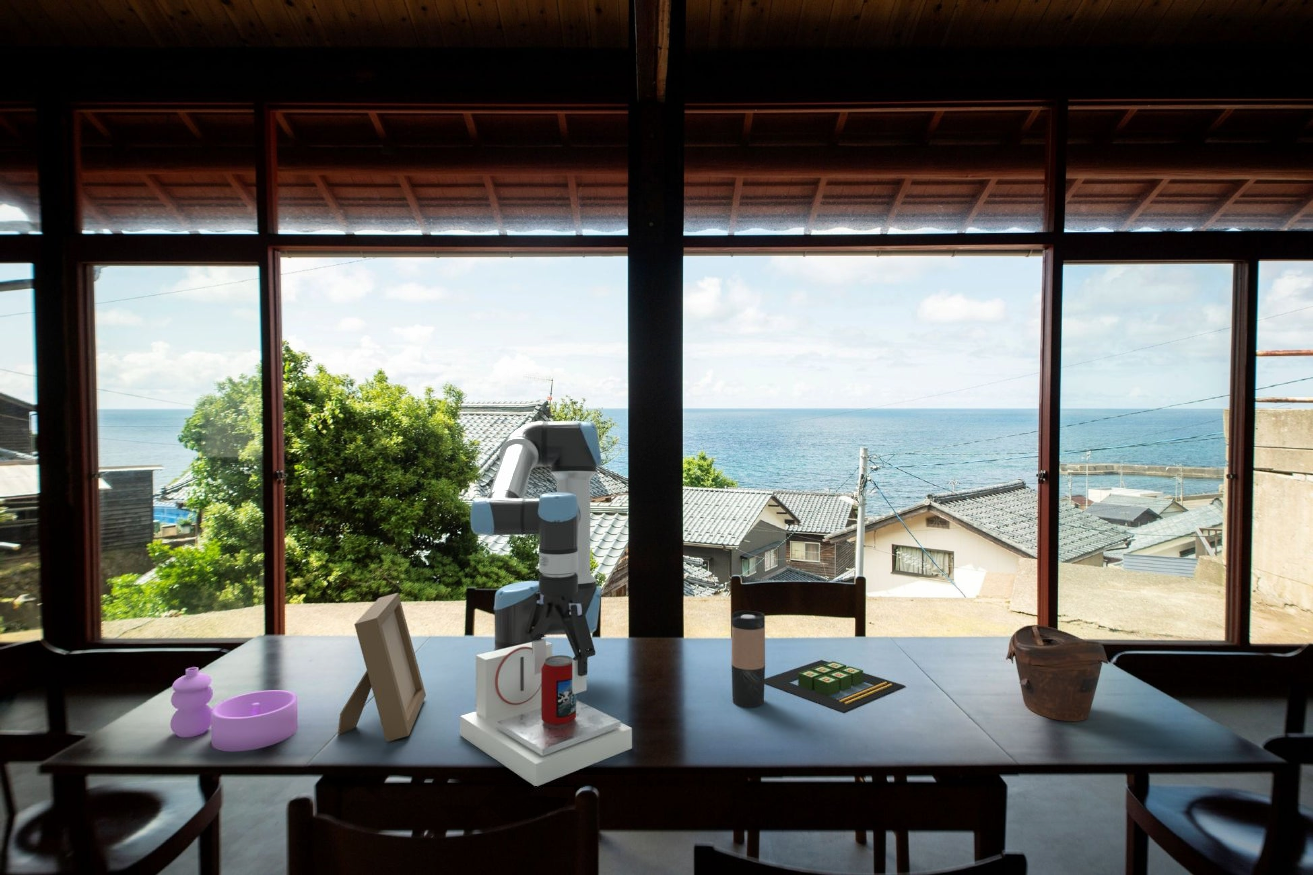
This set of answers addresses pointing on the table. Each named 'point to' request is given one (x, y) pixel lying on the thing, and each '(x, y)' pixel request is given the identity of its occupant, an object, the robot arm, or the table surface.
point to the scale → (517, 691)
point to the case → (1056, 671)
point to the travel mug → (748, 658)
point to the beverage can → (557, 691)
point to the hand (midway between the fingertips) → (558, 681)
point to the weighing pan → (557, 729)
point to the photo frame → (386, 671)
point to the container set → (232, 714)
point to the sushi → (832, 684)
